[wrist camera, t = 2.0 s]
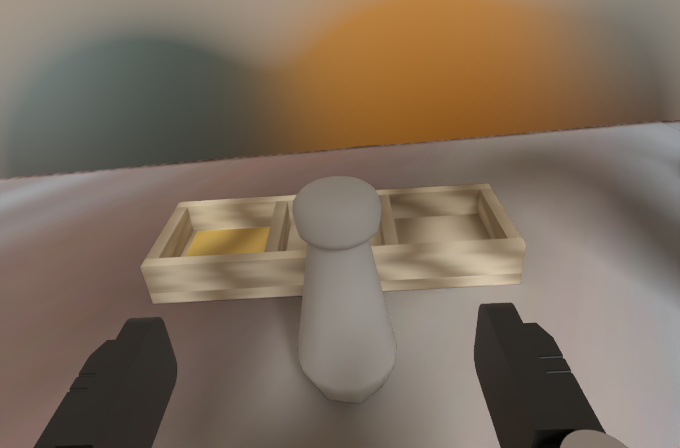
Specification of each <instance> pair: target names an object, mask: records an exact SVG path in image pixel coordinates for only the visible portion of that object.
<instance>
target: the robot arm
mask: <svg viewBox="0 0 680 448" xmlns="http://www.w3.org/2000/svg"><path fill="white" fill-rule="evenodd" d="M474 361H475V368H476V372H477V376H478V379H479V382H480V385H481V388H482V391H483V394H484V397H485V400H486V404H487V407H488V410H489V413H490V416H491V419H492V422H493V425H494V428H495V431H496V434H497V438H498V441H499V444H500V447H501V448H628V447H627V446H625V445H624V444H623V443H622V442H620V441H619V440H617V439H615V438H614V437H612V436H610V435H607V434H606V432H605V431H604V429H603V428H602V426H601V424H600V422H599V420H598V418H597V417H596V415H595V413H594V411H593V409H592V408H591V406H590V404H589V402H588V400H587V398H586V397H585V395H584V393H583V391H582V389H581V388H580V386H579V384H578V382H577V380H576V378H575V377H574V375H573V373H571V369H570V368H569V366H568V364H567V362H566V360H565V359H563V355H562V353H561V351H560V349H559V347H558V346H557V344H556V342H555V340H554V338H553V337H552V336H551V335H550V334H548V333H547V332H546V331H545V330H544V329H543V328H542V327H540V326H539V325H538V324H537V323H523V322H522V320H521V318H520V316H519V314H518V312H517V310H516V308H515V306H514V305H513V304H512V303H491V304H481V305H480V307H479V311H478V320H477V328H476V336H475V345H474ZM176 378H177V362H176V358H175V355H174V352H173V348H172V345H171V342H170V339H169V336H168V333H167V330H166V327H165V324H164V321H163V320H162V318H160V317H152V318H131V319H128V320H127V321H126V323H125V324H124V326H123V328H122V329H121V331H120V333H119V335H118V336H117V338H116V340H107V341H106V342H105V343H103V344H102V345H101V346H100V347H99V348H98V349H97V350H96V351H95V352H93V353H92V354H91V355H90V356H89V358H88V359H87V361H86V363H85V364H84V366H83V368H82V369H81V371H80V372H79V377H76V379H75V381H74V382H73V384H72V386H71V387H70V392H67V394H66V395H65V397H64V399H63V400H62V402H61V404H60V405H59V407H58V408H57V410H56V412H55V413H54V415H53V417H52V418H51V420H50V422H49V423H48V425H47V426H46V428H45V430H44V431H43V433H42V435H41V436H40V438H39V440H38V441H37V443H36V444H35V446H34V448H151V447H152V445H153V442H154V439H155V437H156V434H157V431H158V429H159V426H160V423H161V421H162V418H163V415H164V413H165V410H166V407H167V405H168V402H169V399H170V397H171V394H172V391H173V389H174V386H175V383H176Z"/></svg>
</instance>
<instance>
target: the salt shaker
mask: <svg viewBox="0 0 680 448" xmlns="http://www.w3.org/2000/svg"><path fill="white" fill-rule="evenodd" d="M292 213H293V218H294V222H295V226H296V229H297V232H298V234H299V236H300V238H301V239H302V240H304V241H305V242H307V252H306V263H305V274H304V284H303V295H302V306H301V317H300V328H299V338H298V349H297V350H298V354H299V359H300V363H301V367H302V369H303V372H304V373H305V374H306V375H307V376H308V377H309V378H310V380H311V381H312V382H313V383H314V384H315V385H316V386H317V387H318V388H319V389H320V390H321V392H322V393H323V394H324V395H325V396H326V397H327V398H328V400H335V401H342V402H349V403H356V404H359V403H361V402H362V401H363V400H365V399H366V398H367V397H369V396H370V395H372V394H373V393H374V392H376V391H377V390H378V389H380V388H381V387H382V386H383V384H384V382H385V381H386V379H387V377H388V376H389V374H390V372H391V371H392V369H393V366H394V360H395V354H396V348H397V343H396V340H395V336H394V332H393V328H392V325H391V321H390V317H389V313H388V309H387V306H386V302H385V298H384V294H383V290H382V287H381V283H380V279H379V275H378V271H377V268H376V264H375V260H374V256H373V252H372V248H371V243H370V239H371V238H372V237H374V236H375V235H376V234H377V231H378V228H379V224H380V221H381V203H380V199H379V195H378V194H377V192H376V190H375V189H374V187H372V186H371V185H370V184H369V183H367V182H365V181H363V180H361V179H358V178H354V177H347V176H334V177H326V178H322V179H318V180H314V181H313V182H311V183H309V184H308V185H306V186H304V187H303V188H302V189H301V190H300V191H299V192H298V194H297V195H296V197H295V199H294V200H293V211H292Z"/></svg>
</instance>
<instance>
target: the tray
mask: <svg viewBox="0 0 680 448" xmlns="http://www.w3.org/2000/svg"><path fill="white" fill-rule="evenodd" d="M376 192H377V194H378V195H379V199H380V203H381V221H380V224H379V228H378V231H377V234H376V235H375V236H374V237H372V238H371V239H370V243H371V248H372V252H373V256H374V260H375V264H376V268H377V271H378V275H379V279H380V283H381V287H382V290H383V291H397V290H416V289H434V288H453V287H471V286H490V285H508V284H520V280H521V274H522V268H523V262H524V256H525V250H526V244H525V242H524V241H523V239H522V237H521V236H520V234H519V233H518V231H517V229H516V228H515V226H514V224H513V223H512V221H511V220H510V218H509V216H508V215H507V213H506V211H505V210H504V208H503V207H502V205H501V203H500V202H499V200H498V198H497V197H496V195H495V194H494V192H493V190H492V189H491V187H490V186H489V184H488V183H487V184H471V185H454V186H438V187H421V188H405V189H388V190H376ZM295 197H296V195H290V196H273V197H256V198H239V199H223V200H207V201H191V202H179V204H178V206H177V207H176V209H175V210H174V212H173V214H172V215H171V217H170V219H169V220H168V222H167V224H166V225H165V227H164V229H163V230H162V232H161V234H160V235H159V237H158V239H157V240H156V242H155V244H154V245H153V247H152V248H151V250H150V252H149V253H148V255H147V257H146V258H145V260H144V262H143V263H142V265H141V270H142V273H143V276H144V279H145V282H146V285H147V288H148V290H149V293H150V296H151V299H152V302H153V304H157V303H175V302H194V301H212V300H231V299H249V298H268V297H286V296H302V295H303V284H304V274H305V263H306V252H307V242H305V241H304V240H302V239H301V238H300V236H299V234H298V232H297V229H296V226H295V222H294V218H293V213H292V211H293V200H294V199H295Z"/></svg>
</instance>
